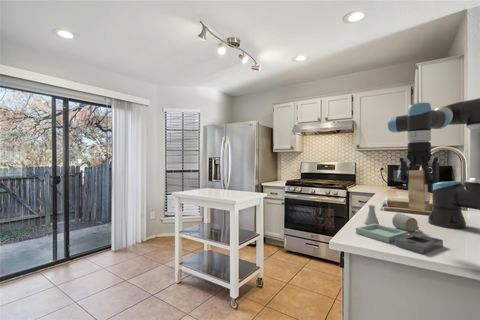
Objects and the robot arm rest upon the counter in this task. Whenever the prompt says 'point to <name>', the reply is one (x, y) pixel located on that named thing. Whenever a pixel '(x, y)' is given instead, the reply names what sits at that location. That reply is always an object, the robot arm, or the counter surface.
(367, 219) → the flask
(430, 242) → the gray slotted block
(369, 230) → the green tray
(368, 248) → the counter surface
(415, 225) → the grey cylinder
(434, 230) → the counter surface
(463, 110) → the robot arm
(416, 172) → the wooden peg
